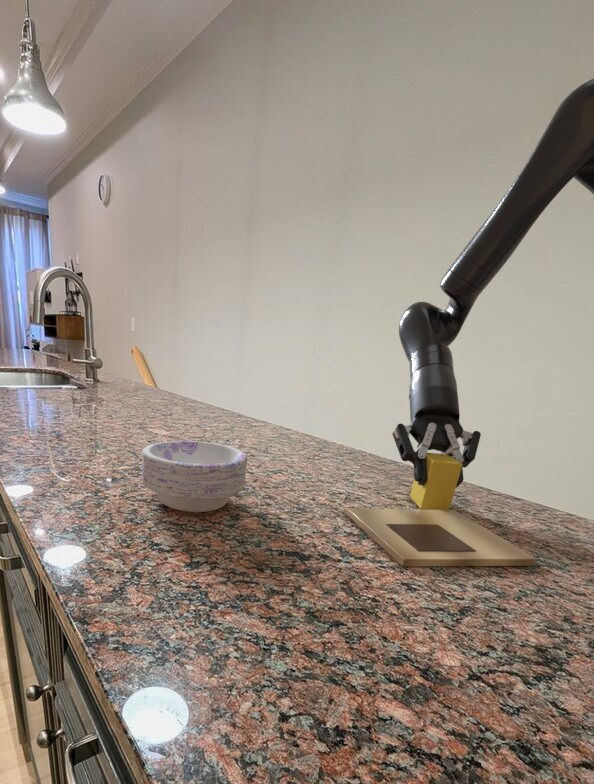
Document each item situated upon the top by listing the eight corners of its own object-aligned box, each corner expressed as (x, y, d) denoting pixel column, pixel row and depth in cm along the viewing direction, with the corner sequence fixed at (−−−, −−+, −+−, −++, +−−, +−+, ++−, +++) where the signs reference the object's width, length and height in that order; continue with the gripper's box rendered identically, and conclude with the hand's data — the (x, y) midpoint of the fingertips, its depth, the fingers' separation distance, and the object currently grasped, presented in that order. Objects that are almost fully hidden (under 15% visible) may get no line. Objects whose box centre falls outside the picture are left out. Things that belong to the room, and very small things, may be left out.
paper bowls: (183, 479, 77) (186, 433, 74) (260, 502, 69) (266, 452, 66) (119, 501, 66) (119, 448, 63) (202, 532, 58) (207, 473, 55)
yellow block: (435, 499, 77) (448, 454, 74) (448, 512, 72) (462, 464, 69) (409, 496, 78) (421, 451, 75) (420, 508, 72) (433, 461, 69)
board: (452, 515, 70) (454, 509, 70) (534, 566, 56) (537, 558, 55) (345, 514, 67) (347, 507, 67) (402, 566, 53) (404, 558, 52)
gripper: (398, 380, 75) (401, 469, 69) (487, 387, 74) (498, 479, 67) (384, 407, 82) (385, 490, 75) (464, 414, 81) (473, 499, 74)
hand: (439, 484), depth 71 cm, fingers closed on yellow block, 4 cm apart
